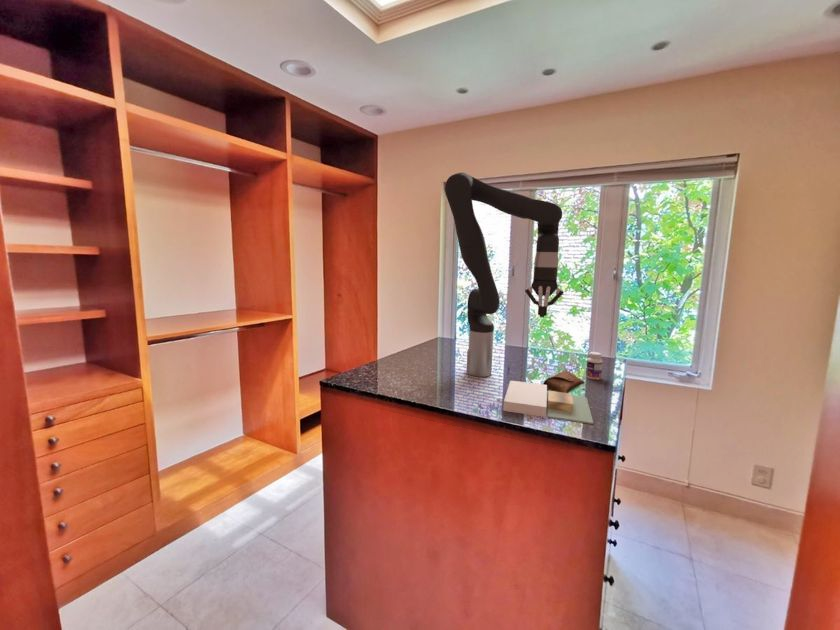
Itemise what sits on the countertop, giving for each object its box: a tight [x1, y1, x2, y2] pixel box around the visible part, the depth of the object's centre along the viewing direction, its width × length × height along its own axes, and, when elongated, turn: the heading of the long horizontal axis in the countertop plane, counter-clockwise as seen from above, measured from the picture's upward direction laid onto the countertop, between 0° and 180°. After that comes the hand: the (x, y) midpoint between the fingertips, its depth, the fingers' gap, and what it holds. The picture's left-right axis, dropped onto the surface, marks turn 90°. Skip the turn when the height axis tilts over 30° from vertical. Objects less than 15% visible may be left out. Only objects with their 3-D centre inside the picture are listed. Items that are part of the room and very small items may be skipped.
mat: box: [547, 395, 594, 425], centre depth 114 cm, size 12×20×1 cm, turn 161°
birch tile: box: [546, 390, 573, 412], centre depth 114 cm, size 7×9×2 cm
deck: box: [502, 380, 548, 418], centre depth 118 cm, size 12×20×3 cm, turn 161°
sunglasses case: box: [542, 369, 585, 393], centre depth 134 cm, size 18×7×7 cm, turn 137°
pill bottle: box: [585, 351, 604, 380], centre depth 142 cm, size 5×5×10 cm
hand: (542, 316), depth 127 cm, fingers closed
